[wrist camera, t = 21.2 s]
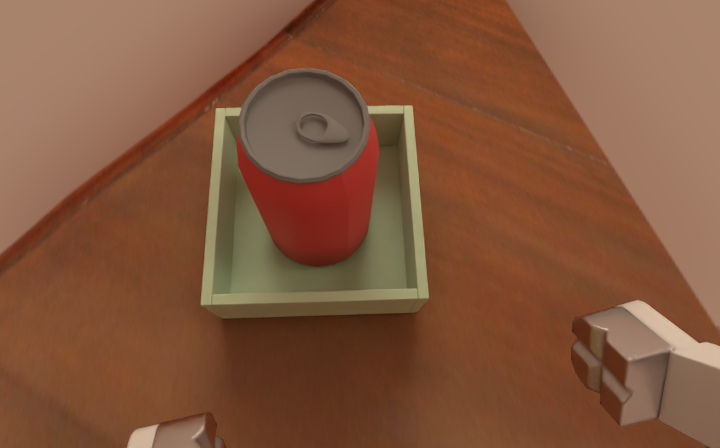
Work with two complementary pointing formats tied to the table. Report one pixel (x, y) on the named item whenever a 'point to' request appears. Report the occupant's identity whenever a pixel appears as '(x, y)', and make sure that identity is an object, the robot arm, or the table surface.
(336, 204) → the beer can
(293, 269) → the tub
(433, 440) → the table surface
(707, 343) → the robot arm
